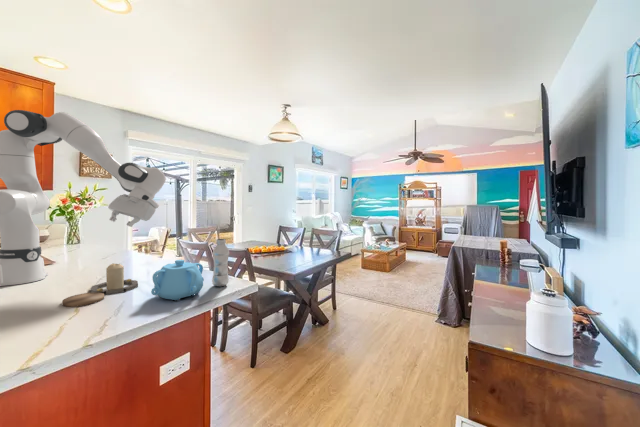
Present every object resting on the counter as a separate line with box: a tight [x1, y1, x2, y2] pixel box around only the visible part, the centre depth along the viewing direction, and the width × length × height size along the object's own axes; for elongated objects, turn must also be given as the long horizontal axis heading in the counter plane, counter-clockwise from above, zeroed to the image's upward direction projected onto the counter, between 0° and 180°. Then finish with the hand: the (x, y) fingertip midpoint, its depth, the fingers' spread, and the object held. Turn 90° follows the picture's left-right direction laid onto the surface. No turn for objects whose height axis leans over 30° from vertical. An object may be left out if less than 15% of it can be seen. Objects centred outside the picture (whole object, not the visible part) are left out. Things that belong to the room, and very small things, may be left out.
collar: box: [89, 278, 139, 296], centre depth 107 cm, size 15×15×2 cm
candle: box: [105, 263, 125, 290], centre depth 107 cm, size 6×6×10 cm
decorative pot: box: [150, 259, 204, 301], centre depth 101 cm, size 16×16×14 cm
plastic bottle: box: [211, 238, 230, 287], centre depth 113 cm, size 6×7×20 cm
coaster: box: [61, 292, 105, 308], centre depth 93 cm, size 11×11×1 cm
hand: (120, 223), depth 116 cm, fingers open, 8 cm apart
